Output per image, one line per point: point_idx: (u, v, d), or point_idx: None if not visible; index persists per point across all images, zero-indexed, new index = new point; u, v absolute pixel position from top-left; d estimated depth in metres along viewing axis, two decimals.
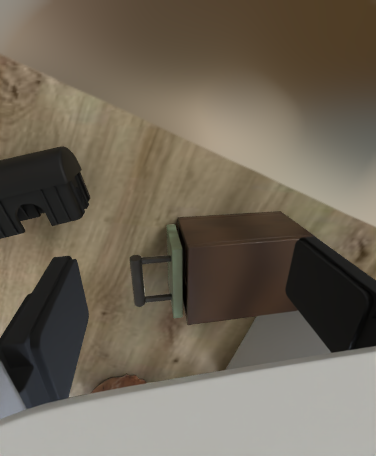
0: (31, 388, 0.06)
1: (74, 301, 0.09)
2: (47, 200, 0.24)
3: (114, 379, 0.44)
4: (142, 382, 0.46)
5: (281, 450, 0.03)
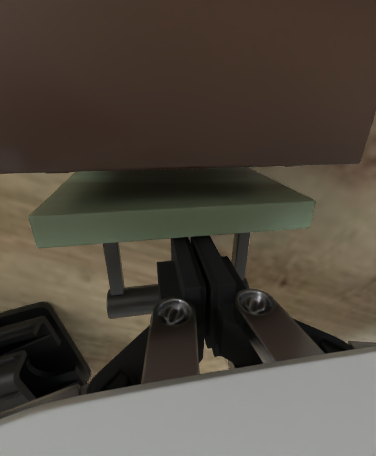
0: None
1: None
2: None
3: None
4: None
5: (281, 450, 0.03)
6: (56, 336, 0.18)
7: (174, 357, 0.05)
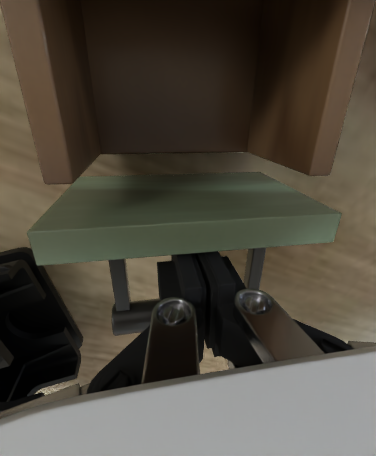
0: None
1: None
2: None
3: None
4: None
5: (281, 450, 0.03)
6: (39, 288, 0.15)
7: (174, 357, 0.05)
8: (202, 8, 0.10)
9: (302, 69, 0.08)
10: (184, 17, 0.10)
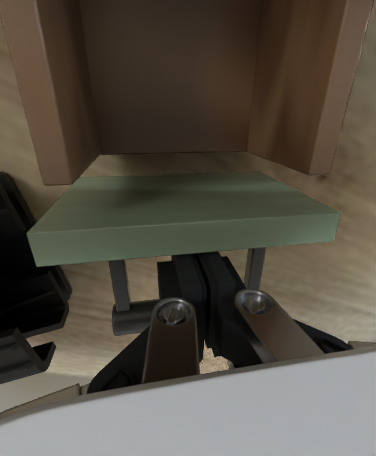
0: None
1: None
2: None
3: None
4: None
5: (281, 450, 0.03)
6: (17, 217, 0.13)
7: (174, 357, 0.05)
8: (201, 8, 0.10)
9: (300, 68, 0.08)
10: (182, 17, 0.10)
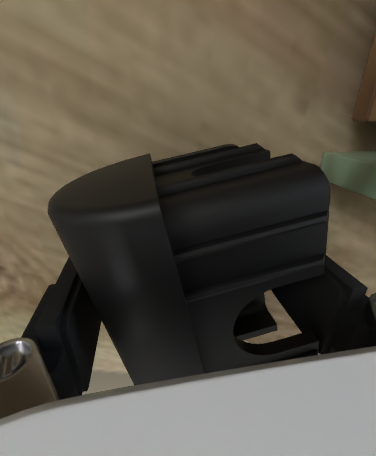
0: (61, 368, 0.06)
1: None
2: (232, 278, 0.07)
3: None
4: None
5: (281, 450, 0.03)
6: None
7: (23, 408, 0.05)
8: None
9: None
10: None
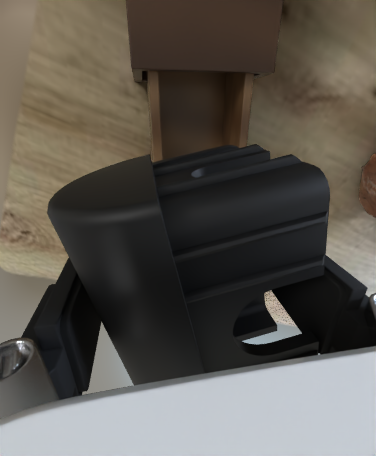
0: (61, 368, 0.06)
1: None
2: (232, 279, 0.07)
3: (360, 183, 0.34)
4: None
5: (281, 450, 0.03)
6: None
7: (24, 408, 0.05)
8: (200, 126, 0.27)
9: None
10: (193, 129, 0.27)
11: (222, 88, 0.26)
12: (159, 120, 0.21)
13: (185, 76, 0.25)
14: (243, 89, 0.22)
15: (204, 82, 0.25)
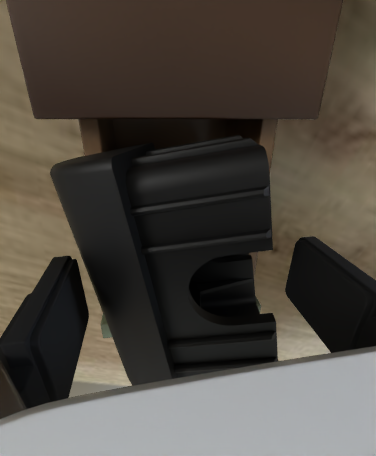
0: (31, 388, 0.06)
1: (74, 301, 0.09)
2: (184, 240, 0.08)
3: None
4: None
5: (281, 450, 0.03)
6: None
7: None
8: None
9: None
10: None
11: (221, 126, 0.17)
12: None
13: None
14: (257, 143, 0.12)
15: None
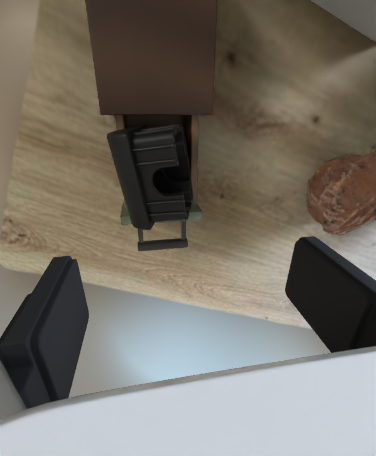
0: (31, 388, 0.06)
1: (74, 301, 0.09)
2: (149, 161, 0.23)
3: (307, 194, 0.41)
4: (326, 164, 0.39)
5: (281, 450, 0.03)
6: (184, 148, 0.27)
7: None
8: None
9: None
10: None
11: (181, 119, 0.32)
12: None
13: None
14: (191, 125, 0.28)
15: (166, 115, 0.32)
